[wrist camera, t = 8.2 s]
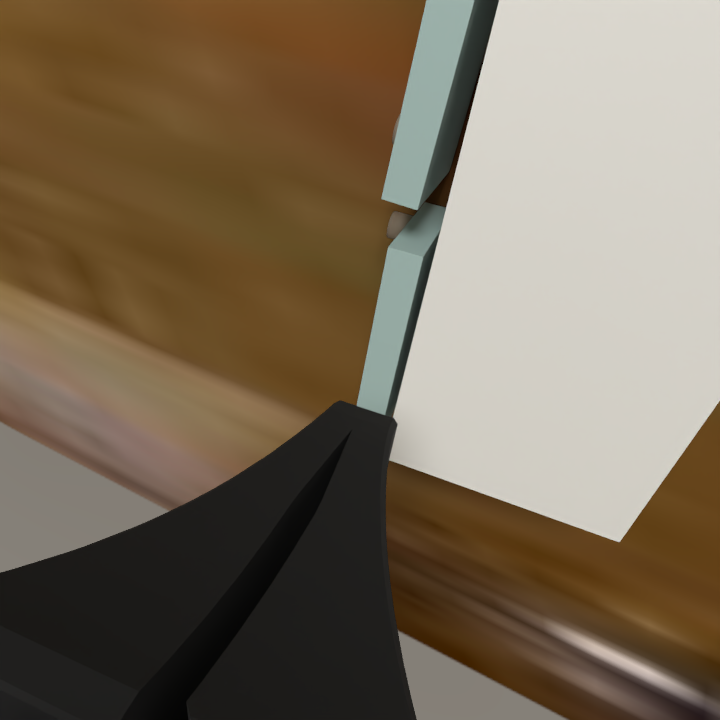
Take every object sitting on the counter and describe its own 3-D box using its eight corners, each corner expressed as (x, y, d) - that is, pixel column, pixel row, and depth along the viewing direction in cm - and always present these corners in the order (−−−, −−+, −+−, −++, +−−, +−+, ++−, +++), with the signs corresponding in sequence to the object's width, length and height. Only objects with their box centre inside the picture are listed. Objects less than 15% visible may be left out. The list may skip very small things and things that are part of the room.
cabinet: (988, -200, 11) (1240, -335, 7) (609, 443, 21) (619, 542, 17) (495, -250, 12) (459, -380, 8) (369, 364, 23) (326, 437, 19)
